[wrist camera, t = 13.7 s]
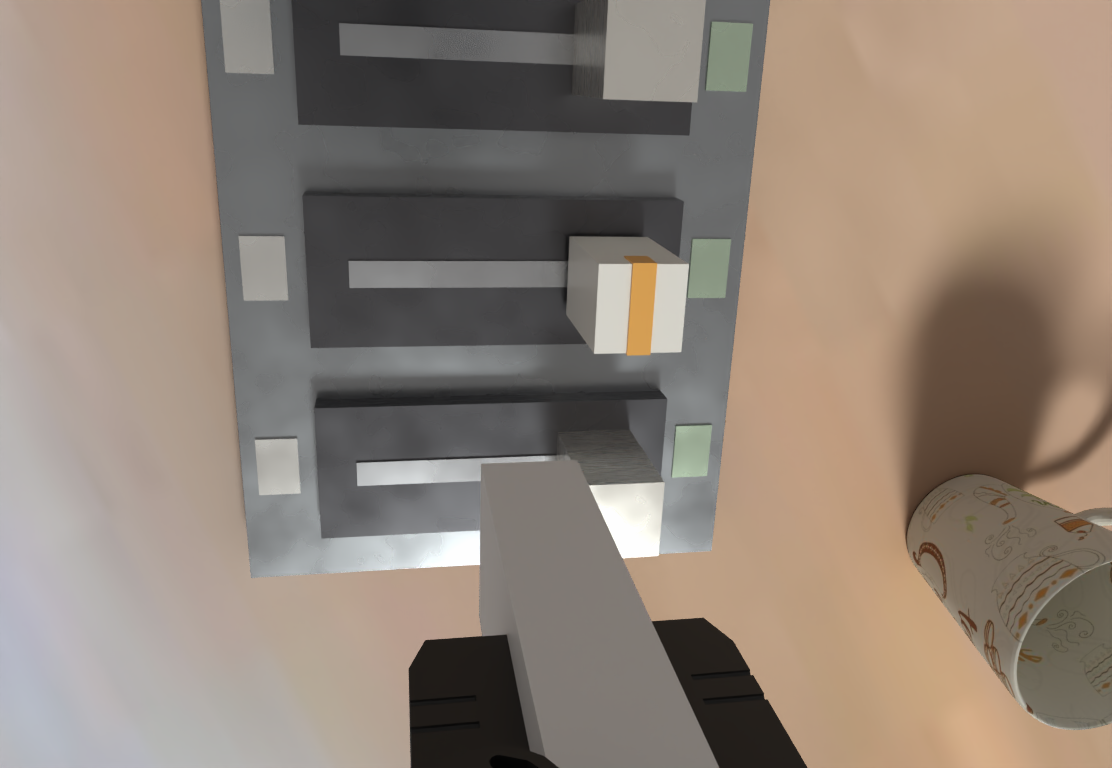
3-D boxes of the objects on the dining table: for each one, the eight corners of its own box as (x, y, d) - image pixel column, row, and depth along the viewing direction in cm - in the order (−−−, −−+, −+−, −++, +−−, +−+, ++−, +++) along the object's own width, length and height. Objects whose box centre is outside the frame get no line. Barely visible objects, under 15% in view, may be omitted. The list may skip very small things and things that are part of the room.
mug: (872, 484, 43) (1004, 598, 34) (1107, 401, 44) (1298, 490, 35) (895, 620, 46) (1022, 758, 37) (1114, 539, 47) (1292, 655, 38)
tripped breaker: (569, 235, 33) (599, 263, 28) (647, 235, 34) (690, 263, 29) (566, 316, 34) (594, 356, 29) (642, 315, 35) (682, 354, 30)
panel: (201, -122, 30) (141, -184, 23) (758, -81, 34) (862, -123, 26) (257, 553, 39) (226, 668, 31) (696, 529, 42) (762, 628, 35)
